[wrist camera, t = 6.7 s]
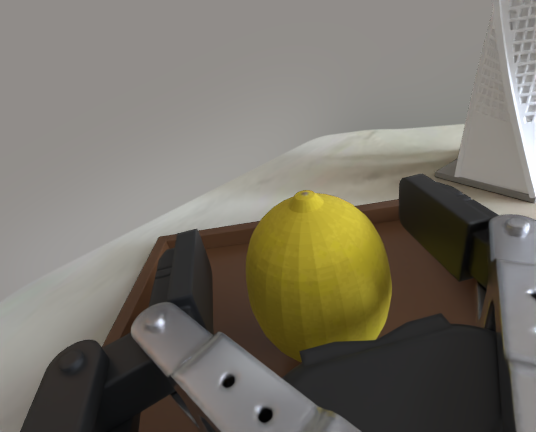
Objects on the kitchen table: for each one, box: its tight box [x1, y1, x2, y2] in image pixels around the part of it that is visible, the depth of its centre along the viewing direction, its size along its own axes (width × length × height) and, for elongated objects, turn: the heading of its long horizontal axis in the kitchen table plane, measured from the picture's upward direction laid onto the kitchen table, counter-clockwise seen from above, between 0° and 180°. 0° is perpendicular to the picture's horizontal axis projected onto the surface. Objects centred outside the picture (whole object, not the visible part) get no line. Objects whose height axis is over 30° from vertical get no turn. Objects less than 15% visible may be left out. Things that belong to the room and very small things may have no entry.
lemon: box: [246, 190, 392, 362], centre depth 13 cm, size 6×6×8 cm
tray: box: [102, 199, 477, 432], centre depth 16 cm, size 20×16×2 cm
